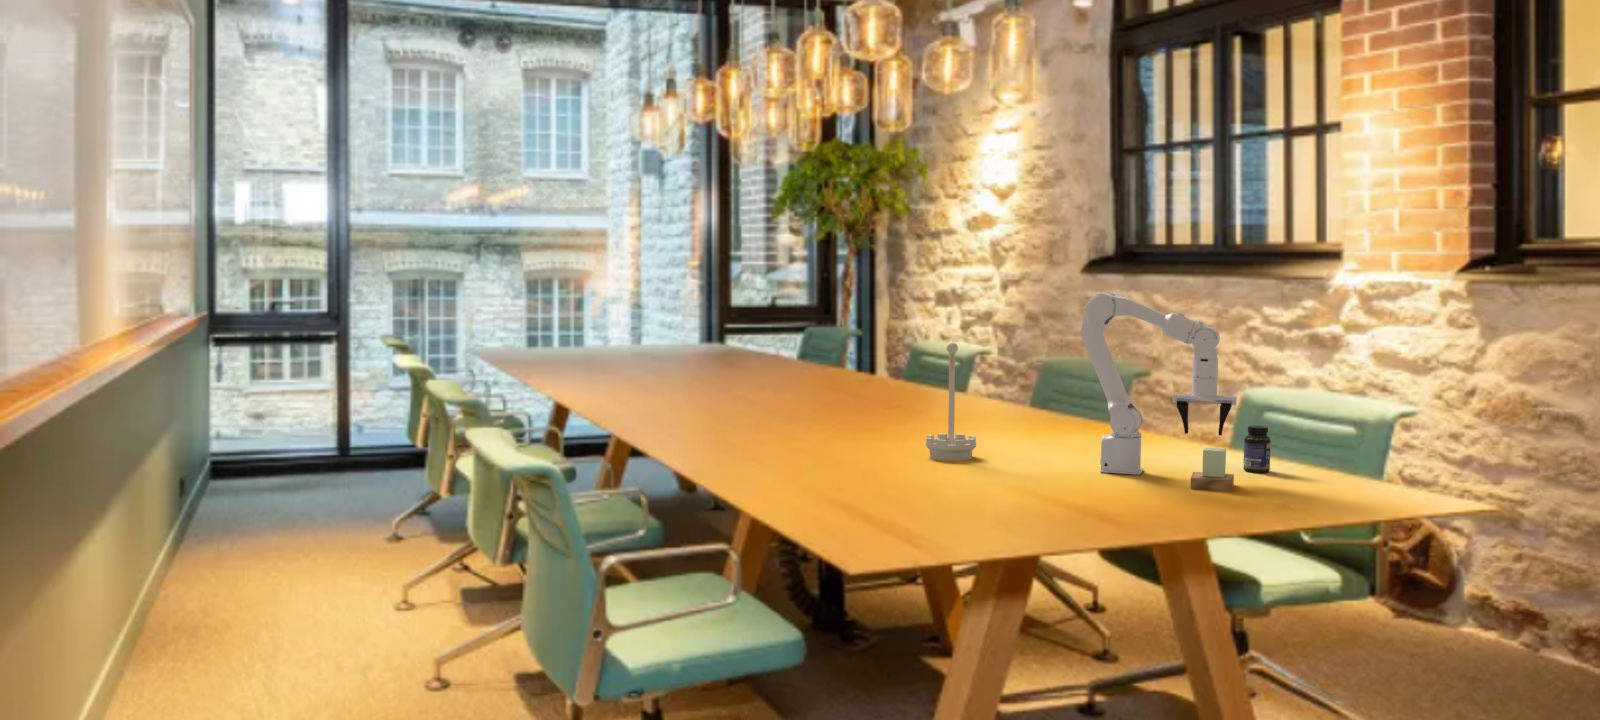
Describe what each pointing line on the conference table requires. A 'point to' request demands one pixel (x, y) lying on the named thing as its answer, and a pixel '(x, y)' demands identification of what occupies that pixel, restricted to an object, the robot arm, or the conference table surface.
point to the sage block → (1214, 462)
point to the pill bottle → (1257, 450)
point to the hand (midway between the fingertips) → (1203, 434)
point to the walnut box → (1212, 482)
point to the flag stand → (951, 426)
